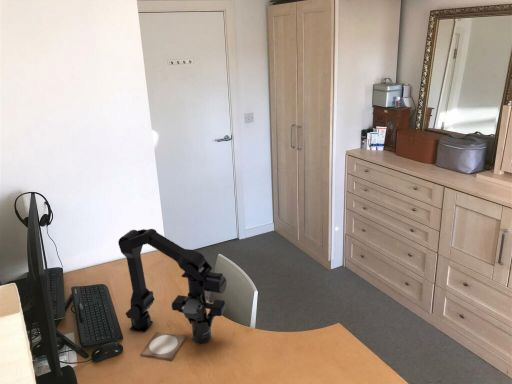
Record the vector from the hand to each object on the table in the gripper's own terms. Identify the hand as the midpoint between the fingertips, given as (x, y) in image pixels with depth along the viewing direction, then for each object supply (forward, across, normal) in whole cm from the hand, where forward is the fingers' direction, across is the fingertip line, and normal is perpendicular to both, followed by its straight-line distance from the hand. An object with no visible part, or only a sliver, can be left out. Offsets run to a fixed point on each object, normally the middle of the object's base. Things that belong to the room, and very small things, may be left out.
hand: (201, 325), depth 160 cm
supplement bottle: (+6, 0, 0) cm, 6 cm away
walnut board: (+6, -12, -7) cm, 15 cm away
